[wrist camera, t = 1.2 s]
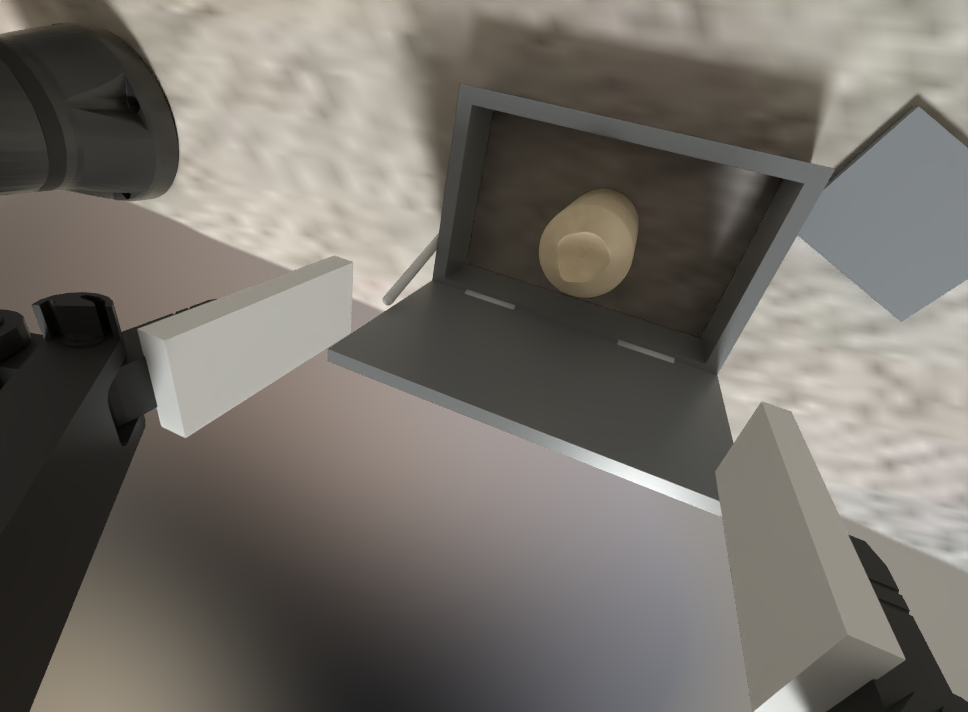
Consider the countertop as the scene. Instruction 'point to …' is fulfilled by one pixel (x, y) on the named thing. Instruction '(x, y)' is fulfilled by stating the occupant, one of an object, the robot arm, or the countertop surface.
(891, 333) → the countertop surface
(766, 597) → the robot arm
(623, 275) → the candle
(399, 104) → the countertop surface
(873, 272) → the mat
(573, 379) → the case
